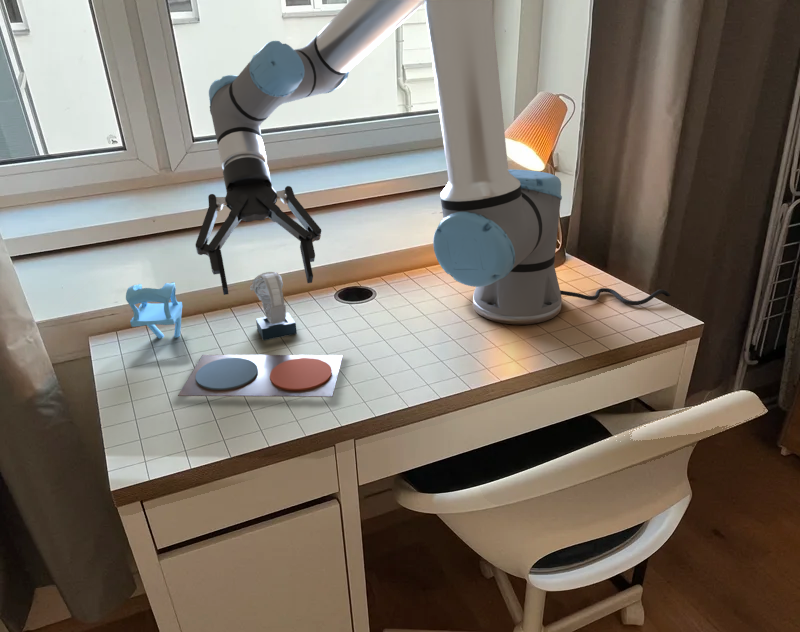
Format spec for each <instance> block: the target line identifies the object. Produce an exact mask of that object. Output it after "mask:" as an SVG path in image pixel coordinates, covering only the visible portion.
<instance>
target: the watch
mask: <svg viewBox="0 0 800 632" xmlns="http://www.w3.org/2000/svg"><path fill="white" fill-rule="evenodd" d="M283 286H284V282H283V277H282V275H280V273H279V272H275V271H266V272H262V273H260V274H258V275H257V276H255V277H254V278H253V280H252V282H251V285H250V286H249V289H250V291H251V292H252V291H254V293H255V295H256V297H257V298H258V300H259V301H261V304H262V307H263V312H264V314H265V316H261V317H258V318H255V324H256V330H257V331H258V333H259V335H260V337H261V339H262V341H268V340H272V339H277V338H282V337H283V338H284V337H288V336H293V335H297V334H298V332H297V331H298V330H297V324H296V321H295V320H294V318H293V316H292V315H291V313H290V312H287V311H286V309H287V307H286V304H285V298H284V293H283Z"/></svg>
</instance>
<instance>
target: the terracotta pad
mask: <svg viewBox="0 0 800 632" xmlns="http://www.w3.org/2000/svg"><path fill="white" fill-rule="evenodd" d="M331 374H332V370H331V367H330V366H329V365H328V364H327V363H326V362H324V361H322V360H319V359H314V358H297V359H292V360H288V361H285V362H283V363H281V364H279V365H277V366H276V367H275V368H273V370H272V371H271V373H270V380H271V382H272V383H273V384H274V385H275V386H277V387H279V388H281V389H285V390H294V391H298V390H307V389H312V388H315V387H318V386H320V385H322V384H324V383H325V382H326V381H328V380H329V378H330V377H331Z"/></svg>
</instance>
